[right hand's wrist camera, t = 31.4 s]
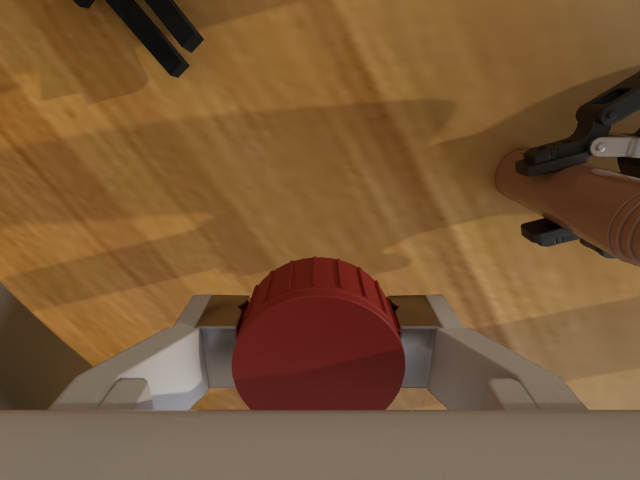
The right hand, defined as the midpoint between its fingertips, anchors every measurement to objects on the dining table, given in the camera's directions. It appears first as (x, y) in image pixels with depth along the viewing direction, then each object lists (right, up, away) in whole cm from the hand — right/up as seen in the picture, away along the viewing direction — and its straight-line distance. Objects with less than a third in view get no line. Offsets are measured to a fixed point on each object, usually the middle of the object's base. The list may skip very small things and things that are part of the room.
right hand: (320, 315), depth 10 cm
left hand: (+14, +5, +15) cm, 22 cm away
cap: (0, -1, -2) cm, 2 cm away
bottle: (+17, +8, +21) cm, 28 cm away
